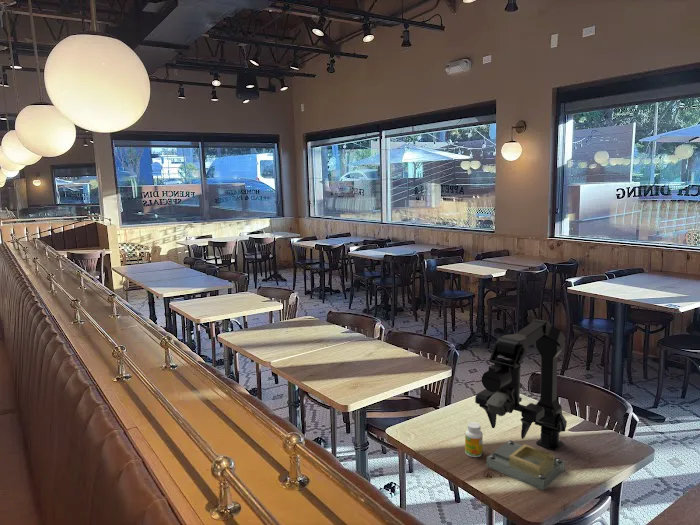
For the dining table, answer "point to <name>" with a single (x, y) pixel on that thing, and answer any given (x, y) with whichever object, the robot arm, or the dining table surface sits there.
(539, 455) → the grey fixture plate
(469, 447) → the supplement bottle
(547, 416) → the robot arm
